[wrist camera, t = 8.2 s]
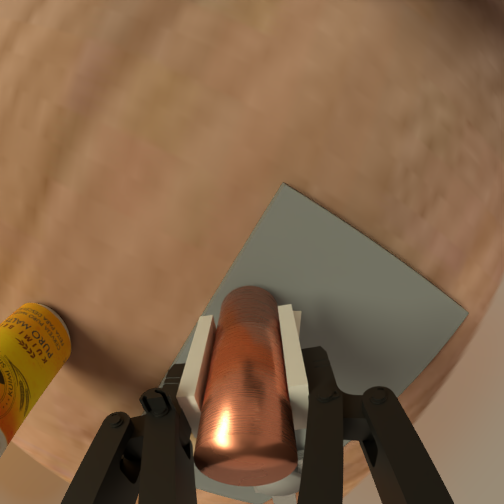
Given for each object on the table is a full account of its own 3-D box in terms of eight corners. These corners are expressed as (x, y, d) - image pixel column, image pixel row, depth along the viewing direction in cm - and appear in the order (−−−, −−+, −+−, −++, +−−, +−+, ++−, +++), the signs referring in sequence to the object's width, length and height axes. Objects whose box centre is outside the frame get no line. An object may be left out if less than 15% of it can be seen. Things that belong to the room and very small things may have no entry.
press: (283, 182, 19) (292, 192, 14) (461, 306, 22) (492, 335, 17) (121, 449, 28) (109, 481, 23) (260, 497, 31) (260, 528, 26)
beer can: (80, 320, 22) (-24, 457, 8) (71, 368, 24) (-7, 491, 10) (24, 285, 21) (-94, 388, 7) (20, 336, 23) (-69, 437, 9)
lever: (309, 489, 28) (319, 573, 17) (260, 494, 28) (261, 578, 17) (290, 277, 19) (327, 423, 8) (200, 290, 20) (151, 435, 9)
